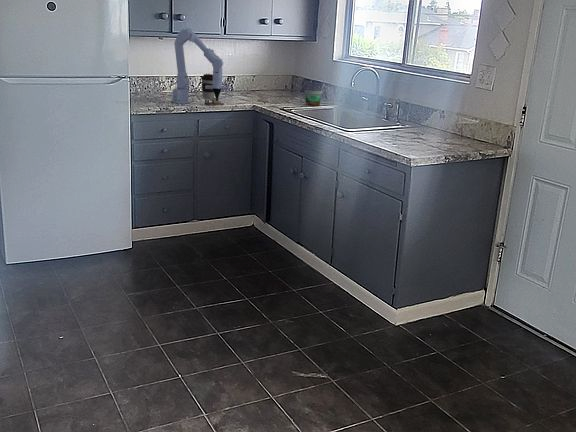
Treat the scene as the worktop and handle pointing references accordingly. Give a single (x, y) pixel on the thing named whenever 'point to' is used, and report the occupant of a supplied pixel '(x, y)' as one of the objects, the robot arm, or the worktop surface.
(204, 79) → the coffee cup
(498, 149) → the worktop surface
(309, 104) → the food container
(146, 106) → the worktop surface
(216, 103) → the plate
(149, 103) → the worktop surface
